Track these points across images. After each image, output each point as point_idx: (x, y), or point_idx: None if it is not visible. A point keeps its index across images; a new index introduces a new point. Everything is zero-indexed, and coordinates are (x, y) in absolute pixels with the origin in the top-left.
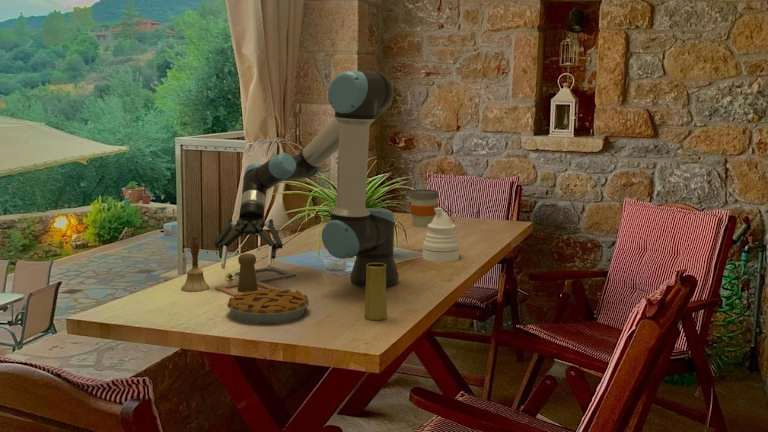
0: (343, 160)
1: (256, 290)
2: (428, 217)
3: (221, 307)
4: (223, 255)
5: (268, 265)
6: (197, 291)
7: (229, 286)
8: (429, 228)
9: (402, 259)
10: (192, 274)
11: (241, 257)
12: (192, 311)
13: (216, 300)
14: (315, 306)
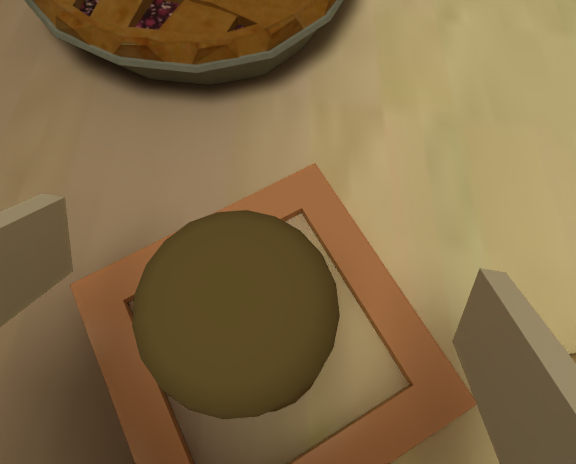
0: None
1: (227, 39)
2: None
3: (389, 61)
4: (539, 338)
5: (59, 211)
6: (571, 355)
7: (380, 407)
8: None
9: None
10: None
11: (303, 238)
12: (502, 30)
13: (425, 162)
14: (3, 26)
